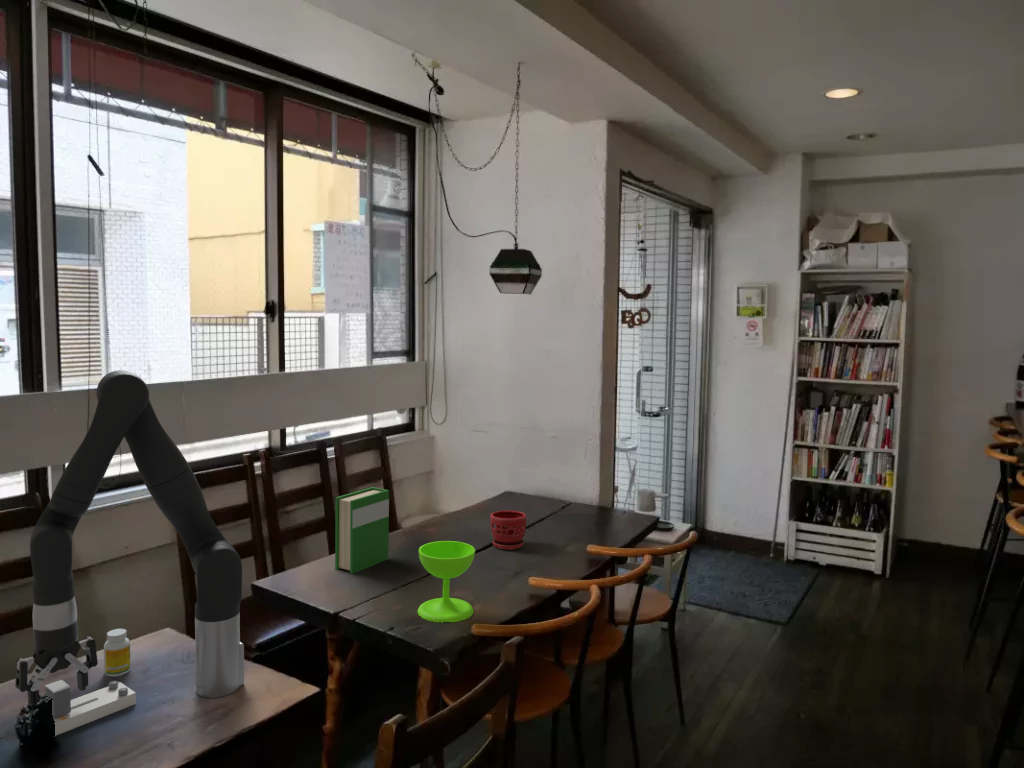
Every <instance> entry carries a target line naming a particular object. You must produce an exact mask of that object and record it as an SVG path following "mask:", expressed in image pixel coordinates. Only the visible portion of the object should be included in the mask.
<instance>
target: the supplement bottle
mask: <svg viewBox="0 0 1024 768" xmlns="http://www.w3.org/2000/svg"><path fill="white" fill-rule="evenodd" d="M127 635H128V634H127V629H125V628H116V629H111V630H110V631H108V632H106V641H105V643H104V645H103V667H104V668H103V670H104V675H105V676H107V677H113V678H114V677H115V678H116V677H117V678H118V677H120V676H123V675H125V674H127V673H129V671H131V641H130V639H129V637H127Z"/></svg>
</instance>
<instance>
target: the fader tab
mask: <svg viewBox="0 0 1024 768" xmlns="http://www.w3.org/2000/svg"><path fill="white" fill-rule="evenodd" d="M44 687H45V697H46V696H49V697H51V698H52V699H53V700H52V715H53V718H57V717H60V716H63V715H65V714H68V713H70V712H71V702H70V700H71V686H70V685H69V684H68V683H67V682H65V681H64V680H63V679H60V680H57V681H54V682H51V683H48V684H45V685H44Z"/></svg>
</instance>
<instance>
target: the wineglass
mask: <svg viewBox="0 0 1024 768" xmlns="http://www.w3.org/2000/svg"><path fill="white" fill-rule="evenodd" d="M475 554H476V549H475V547H474V546H473V545H471V544H469V543H466V542H462V541H456V540H454V541H453V540H440V541H438V540H437V541H432V542H428V543H425V544H423V545H421V546H419V548H418V558H419V560H420V563H421V565H422V566H423V568H424V569H425V571H427V572H428V573H429V574H430V575H432V576H434V577H435V578H438V579H442V597H439V598H437V597H436V598H432V599H429V600H426V601H424V602H423V603H421V604H420V605H419V607H418V609H417V614H418V616H419V617H420V616H421V617H420V618H422V619H424V620H426V621H427V622H428V621H429V622H432V621H433V623H439V622H441V623H440V624H444V623H443V622H451V623H457V622H462V621H465V620H467V619H469V618H471V616H473V614H474V612H475V611H474V607H473V606H472V605H471V604H470V602H467V601H466V600H463V599H460V598H455V597H450V586H451V585H450V581H451V580H450V579H455V578H457V577H459V576H461V575H462V574H464V573H465V572H466V571H467V570H468V569H469V568H470V567H471V565H472V563H473V561H474V558H475ZM461 620H462V621H461Z"/></svg>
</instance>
